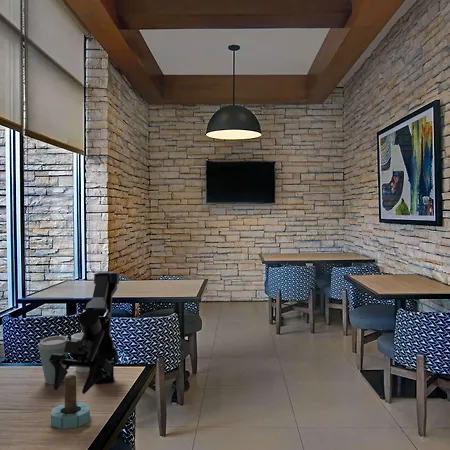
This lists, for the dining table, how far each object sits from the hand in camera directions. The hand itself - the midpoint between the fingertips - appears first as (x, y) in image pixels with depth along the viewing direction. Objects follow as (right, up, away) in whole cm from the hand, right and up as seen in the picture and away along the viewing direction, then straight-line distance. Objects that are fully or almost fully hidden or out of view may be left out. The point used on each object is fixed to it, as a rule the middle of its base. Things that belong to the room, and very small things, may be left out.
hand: (68, 391), depth 134 cm
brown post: (0, -9, +1) cm, 9 cm away
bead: (0, -9, +1) cm, 9 cm away
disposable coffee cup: (-16, -8, +32) cm, 36 cm away
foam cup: (-9, -7, +44) cm, 46 cm away
